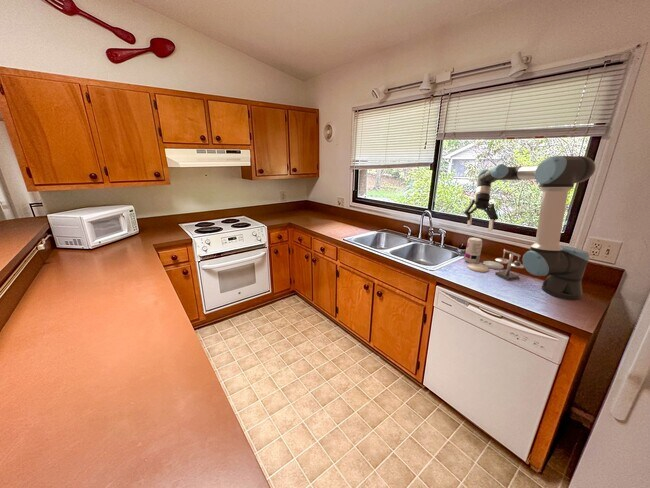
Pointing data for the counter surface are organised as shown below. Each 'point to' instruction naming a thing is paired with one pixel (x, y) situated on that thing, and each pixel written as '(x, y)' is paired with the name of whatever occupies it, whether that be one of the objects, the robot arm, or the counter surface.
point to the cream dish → (478, 267)
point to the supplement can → (473, 250)
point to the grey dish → (493, 265)
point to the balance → (509, 266)
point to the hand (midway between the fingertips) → (479, 227)
